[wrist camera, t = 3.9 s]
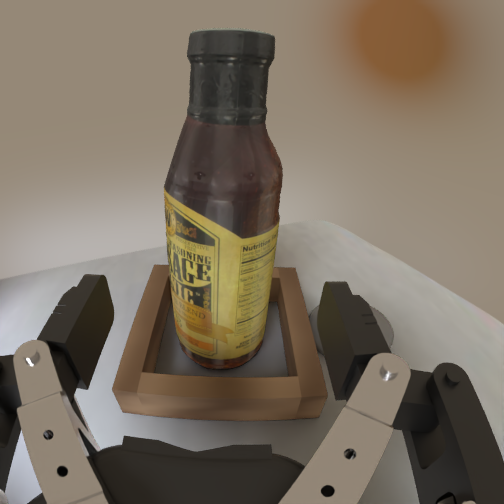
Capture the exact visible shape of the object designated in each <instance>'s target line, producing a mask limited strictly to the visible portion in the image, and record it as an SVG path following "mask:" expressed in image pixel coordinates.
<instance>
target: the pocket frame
mask: <svg viewBox="0 0 504 504" xmlns="http://www.w3.org/2000/svg"><path fill="white" fill-rule="evenodd" d="M171 299H172V292H171V283H170V275H169V265H154V267H153V270H152V272H151V275H150V278H149V280H148V283H147V286H146V288H145V291H144V294H143V296H142V299H141V302H140V305H139V308H138V310H137V313H136V316H135V319H134V322H133V325H132V328H131V331H130V334H129V337H128V340H127V343H126V346H125V349H124V352H123V355H122V358H121V361H120V365H119V368H118V371H117V374H116V378H115V381H114V384H113V388H112V391H113V393H114V395H115V397H116V399H117V401H118V403H119V405H120V408H121V410H122V412H125V413H132V414H140V415H149V416H158V417H169V418H182V419H199V420H228V421H259V420H288V419H304V418H317V417H319V416H320V413H321V411H322V409H323V406H324V404H325V401H326V399H327V396H328V394H327V389H326V385H325V381H324V377H323V373H322V369H321V365H320V361H319V357H318V353H317V349H316V345H315V341H314V337H313V333H312V329H311V325H310V321H309V317H308V314H307V310H306V306H305V302H304V298H303V295H302V291H301V287H300V284H299V280H298V276H297V273H296V269H295V268H281V267H273V274H272V281H271V288H270V296H269V302H277V306H278V312H279V318H280V325H281V331H282V337H283V344H284V350H285V357H286V363H287V370H288V376H289V377H205V376H184V375H168V374H155V373H154V371H155V366H156V362H157V357H158V353H159V348H160V344H161V340H162V335H163V331H164V327H165V322H166V318H167V314H168V310H169V306H170V302H171Z"/></svg>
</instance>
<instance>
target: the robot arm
mask: <svg viewBox="0 0 504 504" xmlns="http://www.w3.org/2000/svg"><path fill="white" fill-rule="evenodd" d="M113 321H114V307H113V303H112V299H111V295H110V291H109V287H108V283H107V279H106V277H105V276H104V275H92V274H85V275H84V276H83V278H82V279H81V281H80V283H79V284H78V286H77V287H72V288H71V289H70V290H68V291H67V292H66V293H65V294H64V295H63V296H62V298H61V299H60V301H59V303H58V306H56V307H55V309H54V311H53V314H51V316H50V317H49V319H48V321H47V322H46V324H45V326H44V328H43V329H42V331H41V333H40V335H39V336H38V338H37V340H31V341H28V342H26V343H24V344H22V345H21V346H20V347H19V348H18V349H17V350H16V352H15V354H14V355H6V356H0V504H8V500H7V497H6V495H5V489H6V484H7V480H8V476H9V471H10V467H11V464H12V460H13V456H14V452H15V449H16V445H17V442H18V439H19V435H20V432H21V429H22V433H23V436H24V440H25V443H26V447H27V450H28V453H29V456H30V459H31V462H32V465H33V468H34V471H35V474H36V477H37V479H38V482H39V485H40V487H41V490H42V493H41V494H40V495H38V496H37V497H35V498H34V499H33V500H31V501H30V502H29V503H27V504H357V503H358V501H359V500H360V498H361V496H362V494H363V492H364V491H365V489H366V487H367V485H368V483H369V481H370V479H371V477H372V475H373V473H374V471H375V469H376V467H377V465H378V463H379V461H380V459H381V457H382V455H383V453H384V450H385V448H386V446H387V444H388V442H389V439H390V437H391V435H392V432H393V429H397V430H402V431H403V435H404V439H405V442H406V446H407V450H408V454H409V458H410V462H411V466H412V470H413V475H414V479H415V483H416V488H417V493H418V497H419V502H420V504H504V461H503V458H502V455H501V453H500V450H499V447H498V445H497V442H496V439H495V437H494V434H493V432H492V429H491V427H490V424H489V422H488V419H487V417H486V415H485V412H484V410H483V408H482V405H481V403H480V401H479V399H478V396H477V394H476V392H475V390H474V388H473V386H472V384H471V381H470V379H469V377H468V375H467V374H466V372H465V371H464V370H463V369H462V368H461V367H459V366H458V365H456V364H453V363H442V364H439V365H438V366H437V367H436V368H435V370H434V371H433V373H430V372H423V371H417V370H412V369H410V368H409V366H408V364H407V363H406V362H405V361H404V360H403V359H402V358H401V357H399V356H397V355H394V354H392V353H391V351H390V349H389V347H388V344H387V342H386V340H385V338H384V336H383V333H382V331H381V329H380V327H379V325H378V324H377V320H376V318H375V316H373V312H372V310H371V308H370V306H369V304H368V303H367V302H366V301H365V300H364V299H363V298H362V297H361V296H360V295H352V293H351V290H350V288H349V286H348V284H347V282H325V284H324V287H323V292H322V296H321V301H320V305H319V310H318V314H317V329H318V333H319V337H320V341H321V344H322V348H323V352H324V356H325V360H326V364H327V367H328V371H329V375H330V379H331V383H332V387H333V391H334V395H335V399H336V400H346V401H347V404H346V405H345V406H344V408H343V409H342V411H341V413H340V414H339V416H338V418H337V419H336V421H335V423H334V424H333V426H332V427H331V429H330V431H329V432H328V434H327V435H326V437H325V439H324V440H323V442H322V443H321V445H320V446H319V448H318V449H317V451H316V452H315V454H314V455H313V457H312V458H311V460H310V461H309V463H308V464H307V466H306V467H305V466H304V465H302V464H300V463H299V462H297V461H295V460H292V459H290V458H288V457H285V456H281V455H278V454H272V449H271V444H270V445H231V446H226V447H221V448H216V449H210V450H205V451H198V452H194V451H190V450H186V449H183V448H180V447H177V446H174V445H171V444H168V443H165V442H162V441H159V440H152V439H144V438H137V437H130V436H124V438H123V443H122V445H116V446H111V447H108V448H105V449H102V450H101V449H100V447H99V446H98V444H97V442H96V441H95V439H94V437H93V435H92V433H91V431H90V429H89V427H88V424H87V422H86V420H85V418H84V415H83V413H82V411H81V409H80V406H79V404H78V401H77V399H76V397H75V395H74V394H75V391H76V389H77V388H80V389H86V390H88V388H89V385H90V382H91V379H92V376H93V374H94V371H95V368H96V365H97V363H98V360H99V357H100V355H101V352H102V349H103V347H104V344H105V342H106V339H107V337H108V334H109V332H110V329H111V327H112V324H113Z"/></svg>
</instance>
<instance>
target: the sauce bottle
mask: <svg viewBox="0 0 504 504" xmlns="http://www.w3.org/2000/svg"><path fill="white" fill-rule="evenodd" d="M274 53H275V37H274V36H273V35H271V34H268V33H265V32H261V31H256V30H249V29H241V28H240V29H239V28H213V29H202V30H196V31H193V32H192V33H191V34H190V37H189V45H188V51H187V57H188V59H189V61H190V63H191V72H190V98H189V99H190V100H189V106H188V109H187V117H186V120H185V123H184V125H183V128H182V131H181V134H180V137H179V140H178V143H177V146H176V149H175V152H174V156H173V159H172V162H171V165H170V168H169V172H168V175H167V178H166V182H165V185H164V196H165V197H164V198H165V218H166V236H167V254H168V262H169V275H170V283H171V292H172V302H173V310H174V318H175V327H176V332H177V335H178V337H179V341H180V345H181V347H182V350H183V351H184V352H185V354H186V355H187V356H188V357H189V358H191V359H192V360H193V361H195V362H196V363H198V364H200V365H201V366H203V367H205V368H209V369H220V368H221V369H227V368H235V367H238V366H240V365H242V364H244V363H246V362H247V361H249V360H250V359H251V358H252V357H253V356H254V355H255V353H256V352H257V351H258V350H259V349H260V346H261V344H262V338H263V336H264V332H265V325H266V318H267V311H268V303H269V296H270V288H271V281H272V274H273V266H274V259H275V251H276V243H277V235H278V227H279V219H280V217H279V212H278V209H279V203H280V193H281V188H282V177H283V174H282V165H281V161H280V158H279V157H278V154H277V152H276V149H275V147H274V146H273V143H272V142H271V140H270V138H269V136H268V133H267V129H266V124H265V120H266V114H267V108H266V94H267V84H268V69H269V67H270V65H271V63H272V61H273V59H274Z"/></svg>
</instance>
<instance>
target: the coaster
mask: <svg viewBox="0 0 504 504" xmlns="http://www.w3.org/2000/svg"><path fill="white" fill-rule="evenodd" d="M370 308H371V310H372V312H373V316H375V318H376V320H377V324H378V325H379V327H380V329H381V331H382V333H383V336H384V338H385V340H386V342H387V344H388V347H389V349H390V347H391V345H392V342H393V329H392V327H391V324H390V323H389V321H388V320H387V319H386V317H385V316H384V315H383V314H382V313H380V312H379V311H378V310H376V309H375V308H373V307H371V306H370ZM318 310H319V306H317V307H316V308H315V309H314V310H313V311H312V313H311V314H310V317H309V321H310V325H311V329H312V333H313V337H314V341H315V345H316V349H317V350H318V351H319V352H320V353H322V354H323V355H324V352H323V348H322V344H321V341H320V337H319V333H318V329H317V314H318Z"/></svg>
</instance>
